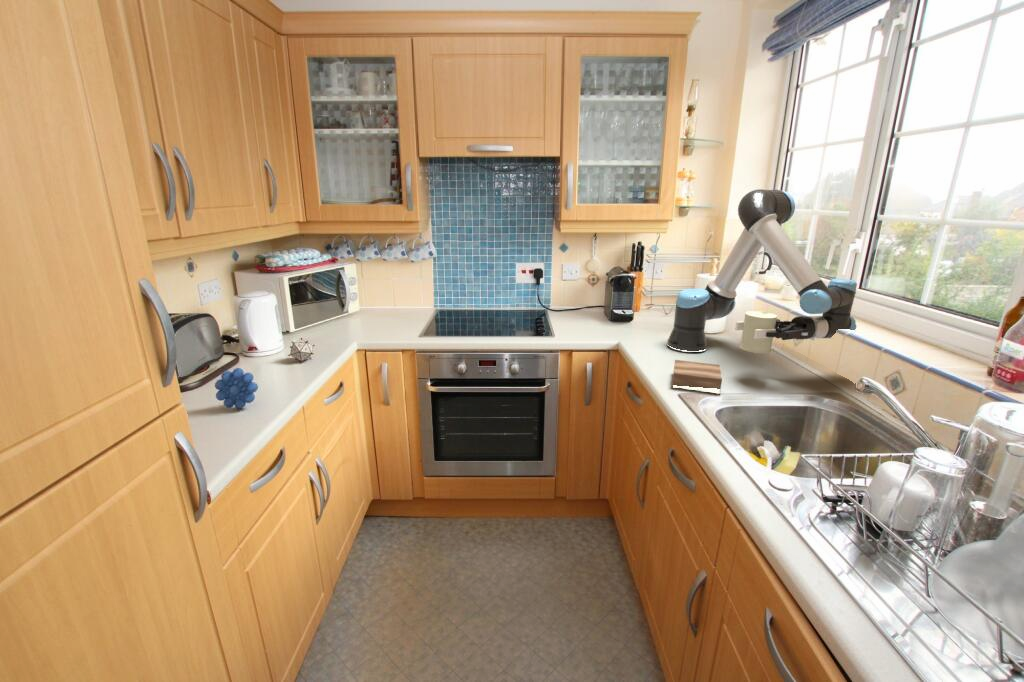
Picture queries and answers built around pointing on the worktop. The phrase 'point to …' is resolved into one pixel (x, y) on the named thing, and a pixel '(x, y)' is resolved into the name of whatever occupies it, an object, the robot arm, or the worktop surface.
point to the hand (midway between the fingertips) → (745, 329)
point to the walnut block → (697, 374)
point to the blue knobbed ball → (236, 388)
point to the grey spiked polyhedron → (301, 350)
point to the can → (753, 323)
